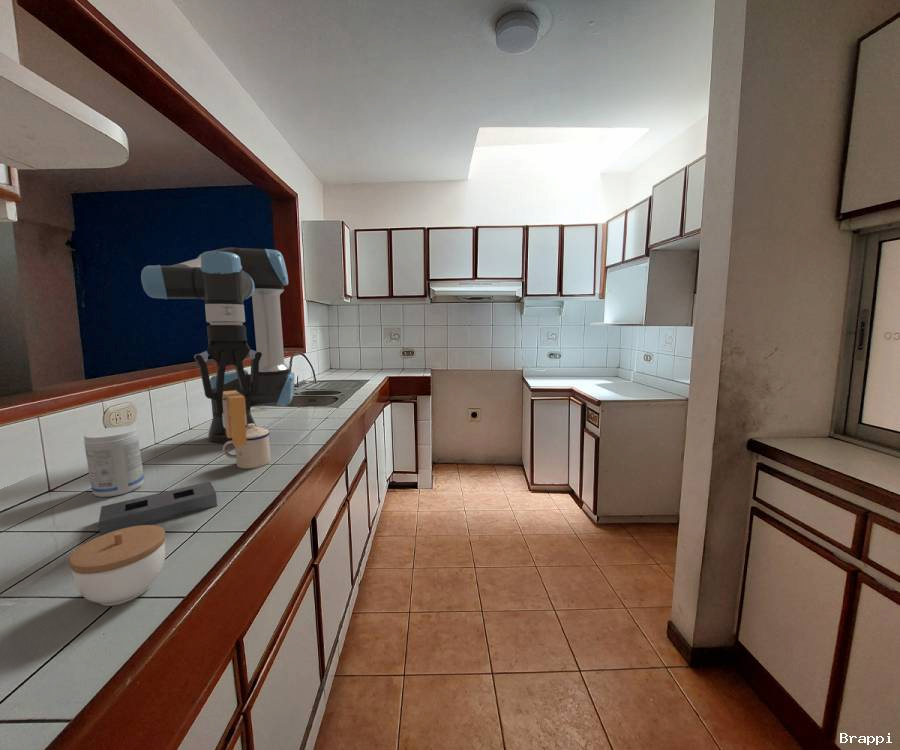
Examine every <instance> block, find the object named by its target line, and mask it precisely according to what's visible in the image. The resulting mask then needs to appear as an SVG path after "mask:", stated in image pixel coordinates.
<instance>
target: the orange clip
mask: <svg viewBox="0 0 900 750" xmlns="http://www.w3.org/2000/svg"><path fill="white" fill-rule="evenodd" d="M223 398H225V399H226V401H227V412H228V423H229V428H226V434H227V437H228V438H232V440H233V444H232V445H233V447H238V446H243V445H247V439H246V426H245V414H246V408H245V397H244V396H243V395H241V394H240V393H239V392H237V391H236V390H233V391H223Z"/></svg>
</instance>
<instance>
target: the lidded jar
mask: <svg viewBox="0 0 900 750" xmlns="http://www.w3.org/2000/svg"><path fill="white" fill-rule="evenodd" d="M166 545H167V544H166V531H165V529H164V528H163V527H162V526H161V527H160V526H158V525H153V524H148V525H140V526H133V527H128V528H124V529H120V530H116V531H113V532H110V533H107V534H105V535H102V536H98V537H95V538H93V539H91V540H89V541H88V542H85V543H84V544H82V545H81V546H79V547H78V548H77V549H76V550H74V551H73V552H72V554H71V555H70V557H69V559H68V565H69V568H70V571H71V575H72V580H73V582H74V585H75V587H76V589H77V591H78V592H79V594H80V595H81V596H82V597H83V598H85V599H86V600H88V601H90V602H92V603H97V604H100V605H101V606H104V607H113V606H118V605H123V604H125V603H128V602H130V601H133V600H135V599H136V598H139V597H140V596H141V595H143V594H144V593H146V592H147V591H148V590H149V589H150V587H151V586H152V584H153V583H154V582H155V580H156V579H157V578H158V576H159V575H160V574H161V572H162V570H163V566H164V565H165V560H166V552H167V551H166V549H167V548H166V547H167V546H166Z"/></svg>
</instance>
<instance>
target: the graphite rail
mask: <svg viewBox="0 0 900 750" xmlns="http://www.w3.org/2000/svg"><path fill="white" fill-rule="evenodd" d="M217 499H218V498H217V491H216V490H215V488H214V486H213V484H212V481H211V480H209V481H206V482H202V483H201V482H200V483H198V484H193V485H189V486H184V487H178V488H176V489H172V490H167V491H166V490H165V491H163V492H159V493H154V494H150V495H145V496H142V497H137V498H133V499H128V500H124V501H119V502H115V503H111V504H107V505H102V506H101V507H100V513H99V518H98V528H99V535H100V536H102V535H105V534H107V533H110V532H113V531H116V530H120V529H124V528H128V527H133V526H140V525H152V524H154V523H158V522H163V521H166V520H169V519H173V518H176V517H180V516H185V515H188V514H192V513H195V512H199V511H203V510H206V509H211V508H214V507H217V506H218V501H217ZM100 536H99V537H100Z"/></svg>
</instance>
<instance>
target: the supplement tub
mask: <svg viewBox="0 0 900 750" xmlns="http://www.w3.org/2000/svg"><path fill="white" fill-rule="evenodd" d="M83 438H84V439H83V440H84V441H83V443H84V450H85V456H86V462H87V469H88V473H89V479H90V485H91V493H92V494H93V495H94V496H96V497H100V498H107V497H115V496H120V495H123V494H124V495H125V494H127V493H130V492H133V491H135V490H137V489H139V488H140V487H141V486H143V484H144V482H145V476H144V470H143V469H144V468H143V462H142V456H141V455H142V454H141V448H140V441H139V436H138V432H137V428H136V427H135V426H133V425H132V426H131V425H123V426H112V427H106V428H102V429H98V430H93V431H90V432H86V434H85V435H84V436H83Z"/></svg>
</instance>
